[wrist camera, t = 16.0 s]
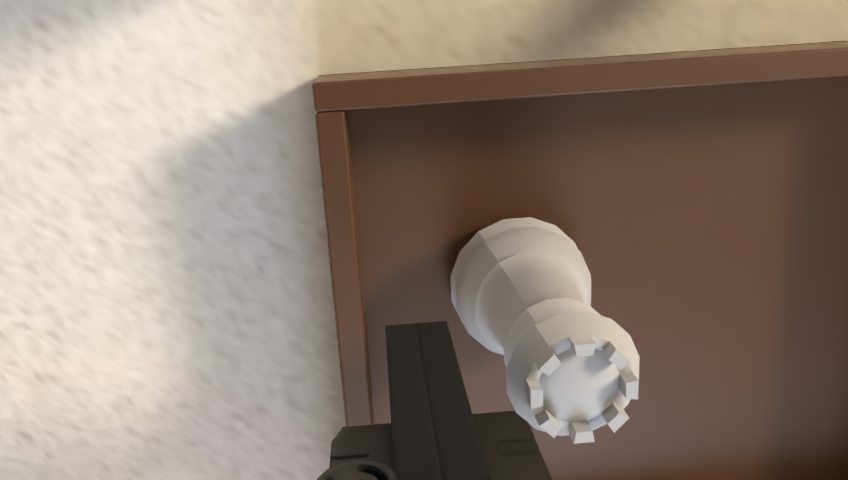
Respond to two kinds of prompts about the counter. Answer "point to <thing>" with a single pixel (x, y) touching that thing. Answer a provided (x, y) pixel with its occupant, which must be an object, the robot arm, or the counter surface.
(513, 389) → the rook chess piece
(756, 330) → the tray
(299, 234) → the counter surface
